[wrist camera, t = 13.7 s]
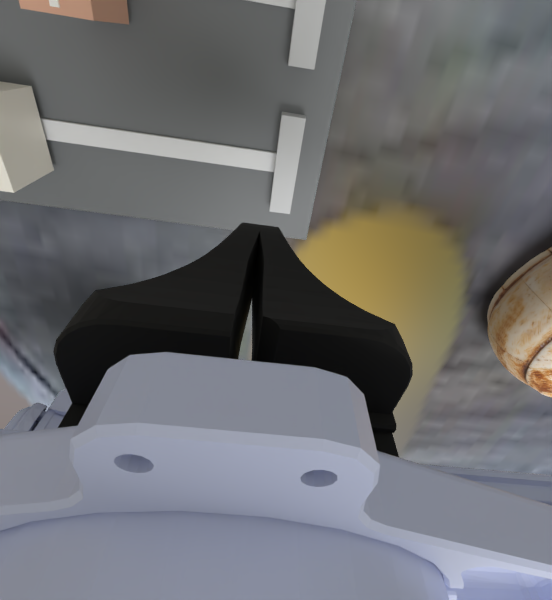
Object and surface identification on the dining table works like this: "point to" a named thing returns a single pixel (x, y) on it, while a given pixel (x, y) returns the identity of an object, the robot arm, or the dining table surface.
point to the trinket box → (525, 323)
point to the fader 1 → (21, 139)
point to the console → (183, 107)
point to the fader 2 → (82, 9)
